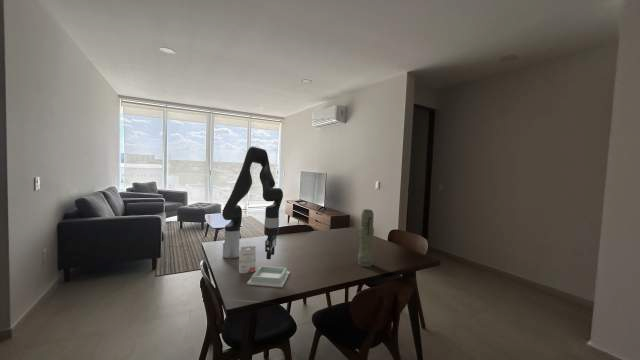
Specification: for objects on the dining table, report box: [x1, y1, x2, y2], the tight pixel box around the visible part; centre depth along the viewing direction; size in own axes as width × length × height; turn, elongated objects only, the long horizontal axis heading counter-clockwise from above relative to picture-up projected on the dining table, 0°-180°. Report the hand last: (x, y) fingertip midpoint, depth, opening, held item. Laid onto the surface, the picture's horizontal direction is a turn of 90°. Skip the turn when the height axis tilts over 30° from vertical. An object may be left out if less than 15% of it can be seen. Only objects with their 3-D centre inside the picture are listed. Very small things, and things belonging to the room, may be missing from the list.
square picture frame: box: [246, 265, 291, 288], centre depth 140 cm, size 18×18×4 cm
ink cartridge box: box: [238, 245, 257, 274], centre depth 148 cm, size 9×5×15 cm, turn 113°
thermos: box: [357, 208, 375, 268], centre depth 167 cm, size 9×12×35 cm
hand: (270, 256), depth 140 cm, fingers open, 6 cm apart
